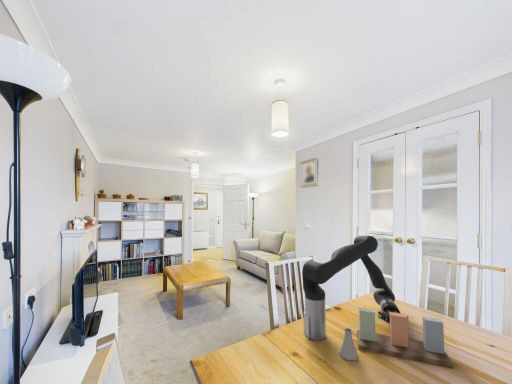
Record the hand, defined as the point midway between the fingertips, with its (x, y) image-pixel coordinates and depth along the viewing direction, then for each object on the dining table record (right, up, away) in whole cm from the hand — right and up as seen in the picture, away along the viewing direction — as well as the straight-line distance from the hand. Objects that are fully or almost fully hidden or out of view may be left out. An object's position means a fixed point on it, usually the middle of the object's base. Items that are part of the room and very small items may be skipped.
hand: (397, 326), depth 101 cm
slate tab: (+10, -6, -7) cm, 14 cm away
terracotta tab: (-1, -6, -3) cm, 7 cm away
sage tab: (-12, -6, +1) cm, 14 cm away
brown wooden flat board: (-1, -8, -3) cm, 8 cm away
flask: (-24, -8, -7) cm, 26 cm away
